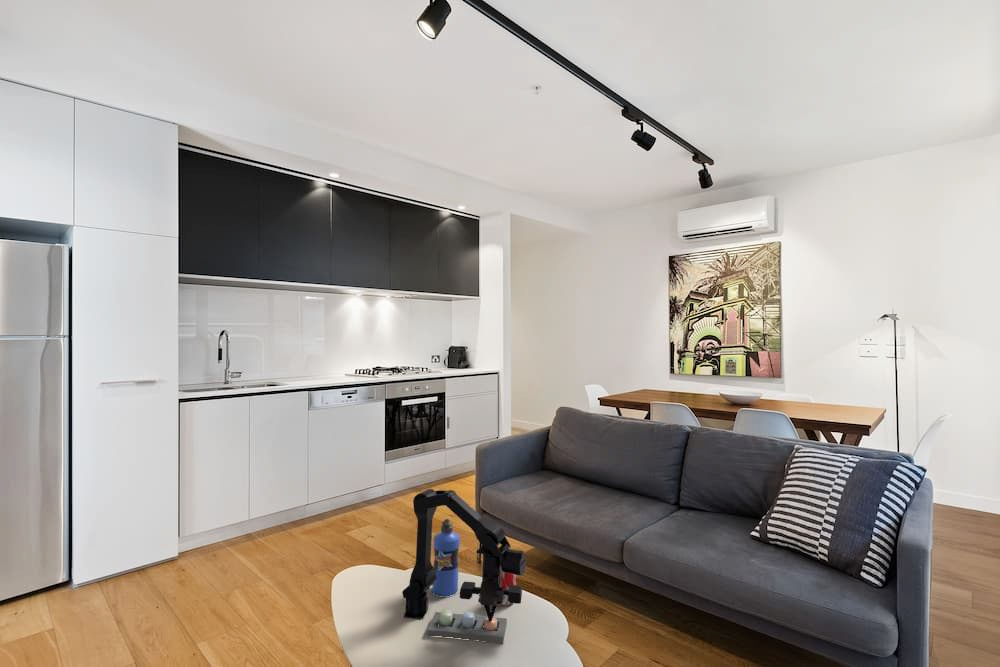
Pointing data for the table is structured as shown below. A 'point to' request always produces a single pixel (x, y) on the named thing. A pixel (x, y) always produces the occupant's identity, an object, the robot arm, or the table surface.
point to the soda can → (507, 584)
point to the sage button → (445, 618)
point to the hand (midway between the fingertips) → (490, 620)
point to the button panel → (468, 633)
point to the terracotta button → (490, 624)
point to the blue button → (468, 620)
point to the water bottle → (446, 560)
